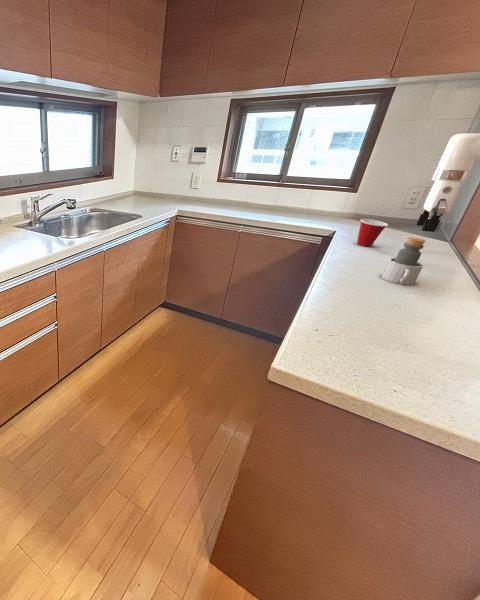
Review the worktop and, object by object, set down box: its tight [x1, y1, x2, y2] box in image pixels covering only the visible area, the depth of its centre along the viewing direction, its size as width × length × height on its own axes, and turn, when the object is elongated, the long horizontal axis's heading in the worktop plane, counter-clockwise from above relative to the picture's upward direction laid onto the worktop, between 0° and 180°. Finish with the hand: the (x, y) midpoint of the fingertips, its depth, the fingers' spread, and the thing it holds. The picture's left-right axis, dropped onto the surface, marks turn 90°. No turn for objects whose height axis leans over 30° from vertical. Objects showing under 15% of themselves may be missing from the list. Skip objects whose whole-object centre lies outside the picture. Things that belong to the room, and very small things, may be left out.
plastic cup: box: [356, 218, 389, 248], centre depth 160 cm, size 11×11×12 cm
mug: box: [381, 257, 424, 286], centre depth 119 cm, size 13×9×7 cm
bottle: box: [394, 237, 426, 266], centre depth 118 cm, size 6×6×15 cm
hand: (424, 228), depth 112 cm, fingers open, 9 cm apart
